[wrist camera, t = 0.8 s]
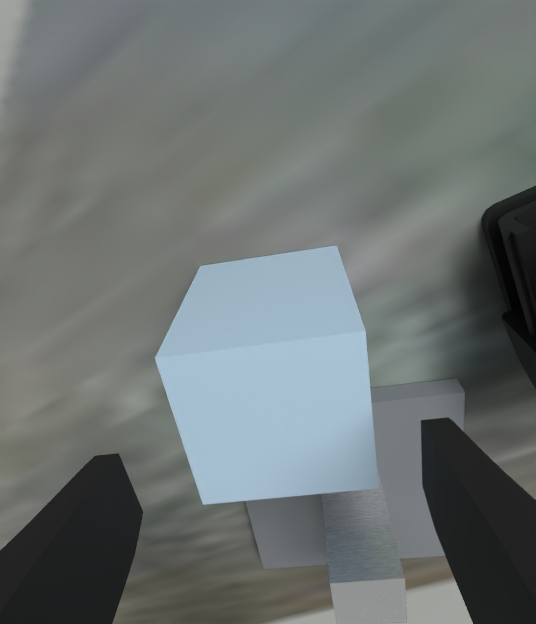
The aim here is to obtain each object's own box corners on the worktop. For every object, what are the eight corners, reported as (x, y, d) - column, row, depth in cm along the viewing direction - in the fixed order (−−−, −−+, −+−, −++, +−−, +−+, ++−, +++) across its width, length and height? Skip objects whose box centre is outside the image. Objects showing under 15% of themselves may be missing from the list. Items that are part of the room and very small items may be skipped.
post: (377, 469, 20) (404, 578, 15) (381, 509, 21) (407, 622, 17) (319, 474, 20) (329, 583, 16) (326, 514, 21) (337, 626, 17)
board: (456, 378, 19) (464, 392, 18) (453, 536, 23) (460, 554, 22) (225, 405, 20) (223, 419, 19) (264, 551, 24) (263, 569, 23)
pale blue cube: (336, 245, 16) (365, 331, 11) (349, 363, 19) (378, 488, 13) (200, 266, 17) (154, 358, 11) (228, 378, 19) (203, 504, 13)
